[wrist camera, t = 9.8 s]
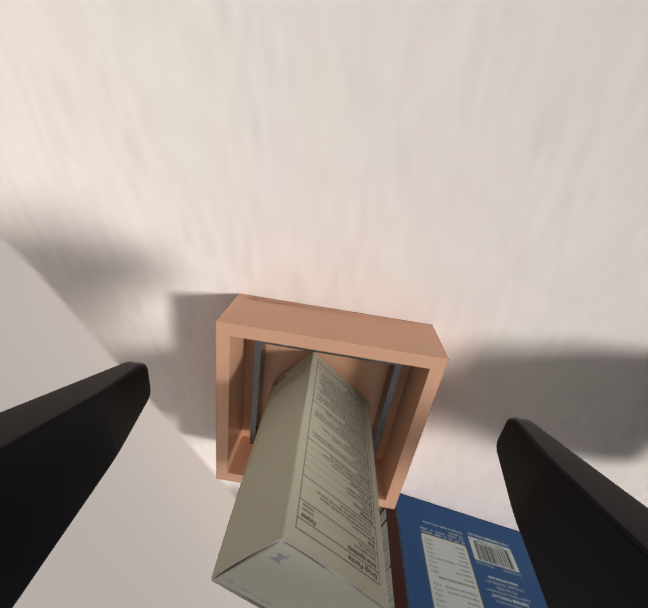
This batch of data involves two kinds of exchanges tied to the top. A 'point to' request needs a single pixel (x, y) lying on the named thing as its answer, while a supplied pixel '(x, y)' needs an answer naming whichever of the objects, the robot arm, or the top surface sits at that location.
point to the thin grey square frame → (392, 370)
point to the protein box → (454, 560)
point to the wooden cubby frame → (336, 337)
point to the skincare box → (308, 500)
